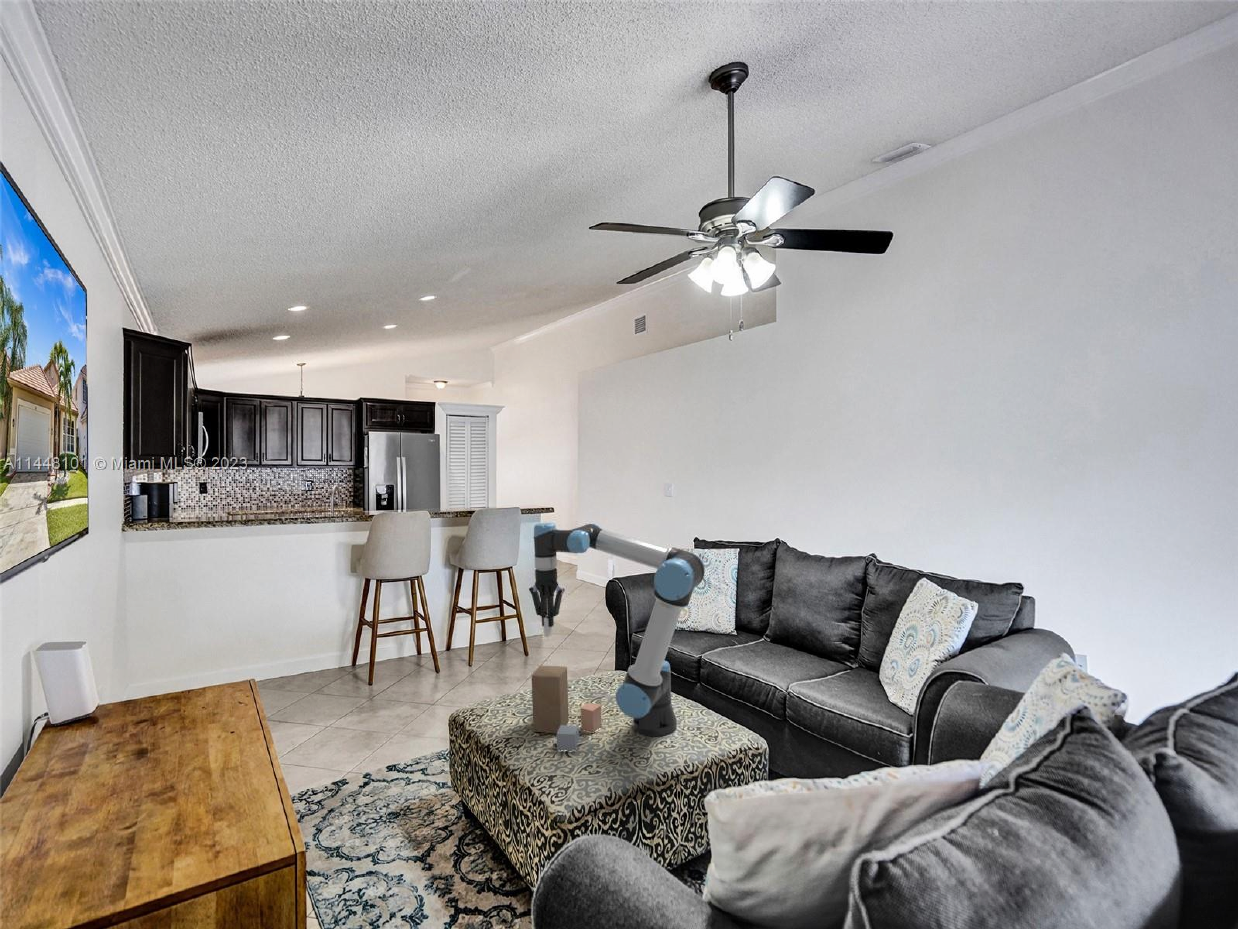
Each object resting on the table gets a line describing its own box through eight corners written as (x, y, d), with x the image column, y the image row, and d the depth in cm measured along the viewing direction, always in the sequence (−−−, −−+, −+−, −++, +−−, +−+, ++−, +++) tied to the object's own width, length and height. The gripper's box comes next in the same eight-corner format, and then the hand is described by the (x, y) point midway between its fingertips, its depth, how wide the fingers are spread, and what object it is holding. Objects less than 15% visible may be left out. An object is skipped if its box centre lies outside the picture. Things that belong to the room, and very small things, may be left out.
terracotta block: (601, 728, 219) (600, 705, 219) (593, 734, 215) (592, 711, 215) (589, 725, 222) (589, 702, 221) (581, 730, 218) (580, 708, 217)
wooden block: (561, 735, 215) (559, 677, 214) (533, 733, 217) (530, 675, 216) (569, 721, 225) (567, 666, 224) (542, 720, 227) (540, 665, 226)
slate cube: (578, 743, 209) (578, 725, 208) (575, 752, 203) (574, 734, 203) (561, 743, 209) (560, 725, 209) (557, 752, 204) (556, 733, 203)
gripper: (567, 566, 219) (570, 634, 220) (534, 565, 224) (537, 630, 225) (557, 571, 212) (560, 640, 213) (523, 569, 217) (526, 637, 218)
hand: (548, 635), depth 219 cm, fingers closed
